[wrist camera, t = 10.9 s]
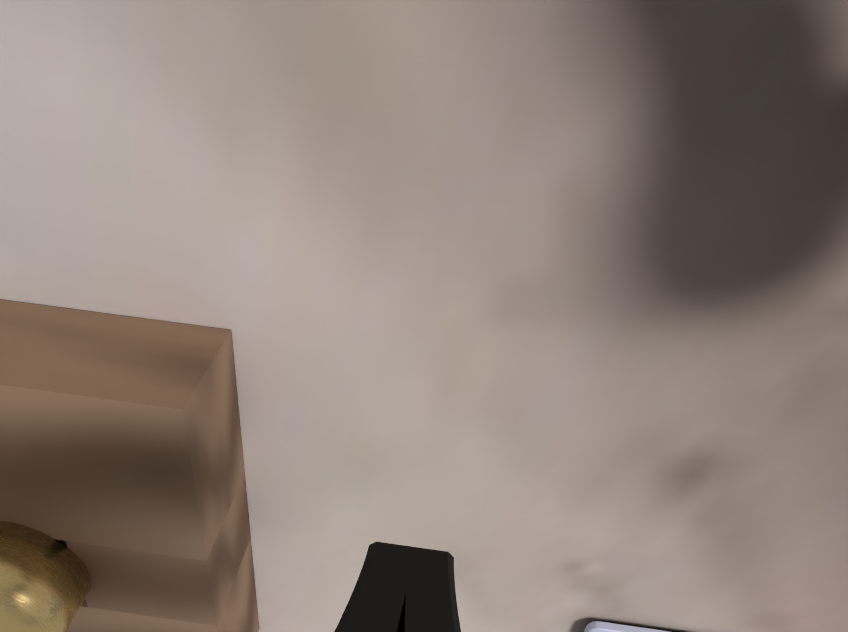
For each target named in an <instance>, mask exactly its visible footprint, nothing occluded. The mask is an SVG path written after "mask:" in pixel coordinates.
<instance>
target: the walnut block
mask: <svg viewBox="0 0 848 632" xmlns="http://www.w3.org/2000/svg"><path fill="white" fill-rule="evenodd" d="M0 521H7V522H12V523H16V524H20V525H24V526H27V527H30V528H33V529H35V530H38V531H40V532H42V533H44V534H46V535H48V536H50V537H52V538H54V539H56V540H63V541H65V542H66V545H67V547H68V548H69V549H70V550H71V551H72V552H73V553H75V554H76V555H77V557H78V558H79V559H80V560H81V561H82V562H83V563H84V565H85V566H86V568H87V570H88V572H89V574H90V577H91V589H90V592H89V593H88V595H87V597H86V598H85V600H84V602H83V604H82V605H81V607H80V609H79V610H78V612H77V614H76V615H75V617H74V619H73V621H72V622H71V624H70V626H69V627H68V629H67V631H66V632H258V631H259V622H258V611H257V600H256V590H255V579H254V568H253V558H252V547H251V536H250V525H249V515H248V504H247V493H246V482H245V472H244V461H243V450H242V440H241V429H240V418H239V407H238V397H237V386H236V375H235V365H234V354H233V343H232V332H231V330H227V329H220V328H212V327H205V326H197V325H190V324H182V323H174V322H167V321H159V320H152V319H144V318H137V317H129V316H122V315H114V314H106V313H99V312H91V311H84V310H76V309H69V308H61V307H54V306H46V305H39V304H31V303H23V302H16V301H8V300H1V299H0Z"/></svg>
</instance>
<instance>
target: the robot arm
mask: <svg viewBox="0 0 848 632" xmlns="http://www.w3.org/2000/svg"><path fill="white" fill-rule="evenodd" d="M335 632H461V629H460V623H459V617H458V610H457V602H456V593H455V582H454V557H453V556H452V555H451V554H450V553H449V552H445V551H437V550H430V549H423V548H416V547H409V546H402V545H395V544H388V543H381V542H375V543H373V544H371V545H369V548H368V552H367V555H366V559H365V562H364V565H363V567H362V570H361V573H360V575H359V578H358V581H357V583H356V586H355V588H354V591H353V593H352V595H351V598H350V600H349V602H348V604H347V606H346V609H345V611H344V613H343V615H342V617H341V620H340V622H339V624H338V626H337V628H336V630H335ZM584 632H670V631H663V630H656V629H650V628H643V627H636V626H629V625H622V624H615V623H608V622H601V621H594V622H591V623H589V624H588V625H587V626H586V628H585V630H584Z"/></svg>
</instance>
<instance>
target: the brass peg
mask: <svg viewBox="0 0 848 632" xmlns="http://www.w3.org/2000/svg"><path fill="white" fill-rule="evenodd" d="M90 589H91V577H90V574H89V572H88V570H87V568H86V566H85V565H84V563H83V562H82V561H81V560H80V559H79V558H78V557H77V555H76V554H75V553H73V552H72V551H71V550H70V549H69V548H68V547H67V545H66V542H65V541H63V540H56V539H54V538H52V537H50V536H48V535H46V534H44V533H42V532H40V531H38V530H35V529H33V528H30V527H27V526H24V525H20V524H16V523H12V522H7V521H0V632H66V631H67V629H68V627H69V626H70V624H71V622H72V621H73V619H74V617H75V615H76V614H77V612H78V610H79V609H80V607H81V605H82V604H83V602H84V600H85V598H86V597H87V595H88V593H89V592H90Z"/></svg>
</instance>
